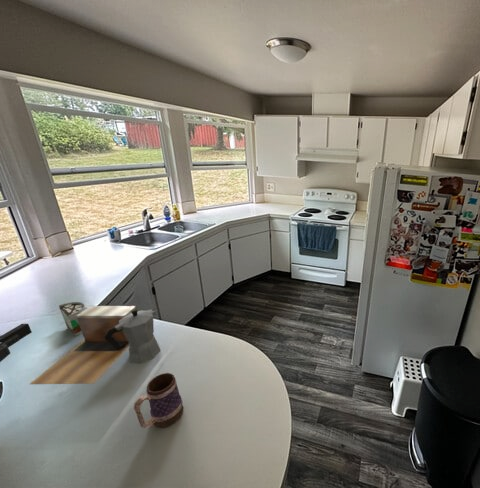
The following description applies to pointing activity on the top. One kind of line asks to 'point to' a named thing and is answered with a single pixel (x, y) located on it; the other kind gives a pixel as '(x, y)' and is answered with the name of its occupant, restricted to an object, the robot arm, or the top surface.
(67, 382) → the wooden board
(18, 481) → the top surface
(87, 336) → the brown rectangular block
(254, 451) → the top surface
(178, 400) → the mug
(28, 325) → the robot arm
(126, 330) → the coffeepot
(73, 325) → the food container
